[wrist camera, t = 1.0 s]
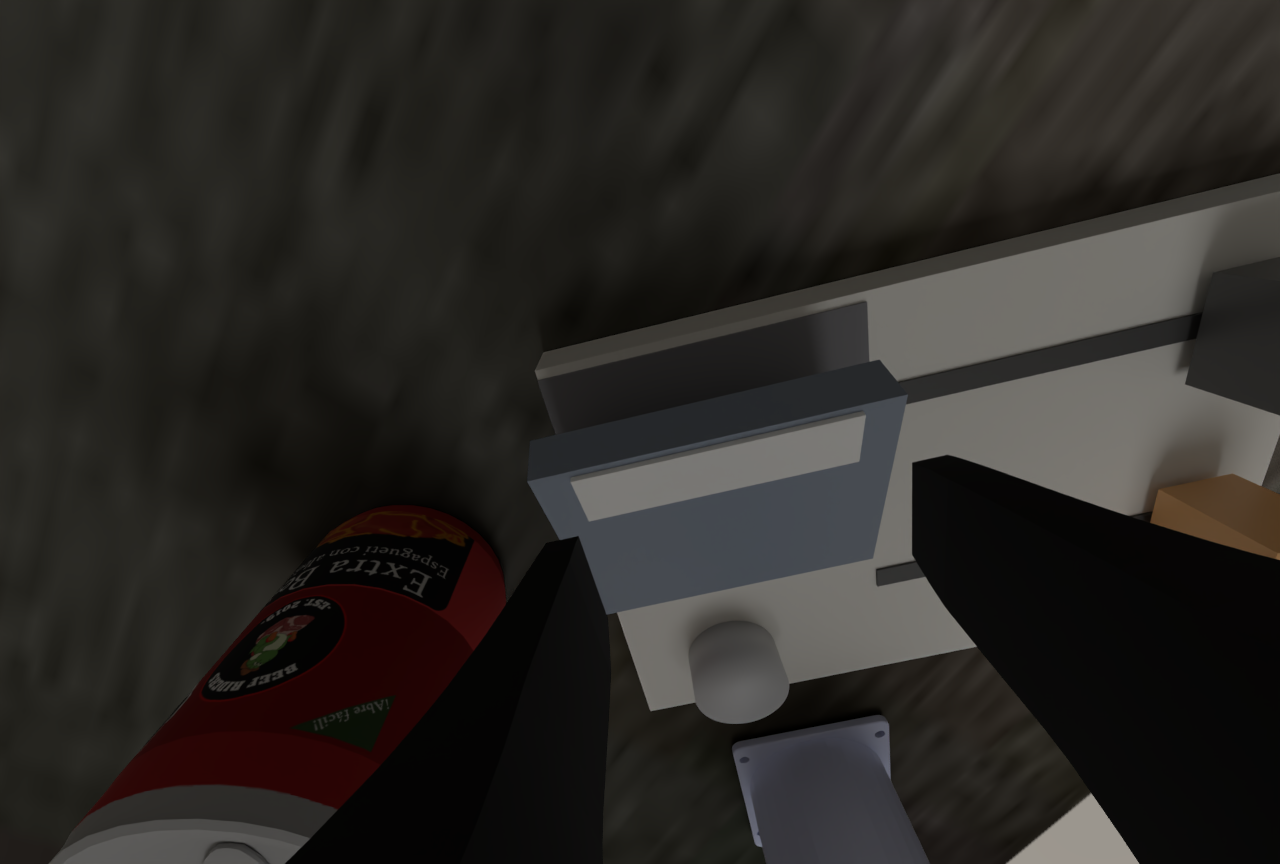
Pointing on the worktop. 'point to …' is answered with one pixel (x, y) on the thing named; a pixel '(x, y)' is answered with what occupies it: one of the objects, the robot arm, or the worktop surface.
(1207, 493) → the orange fader knob
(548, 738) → the robot arm
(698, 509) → the rocker
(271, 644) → the canned food
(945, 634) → the panel
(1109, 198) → the worktop surface
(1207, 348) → the black fader knob
